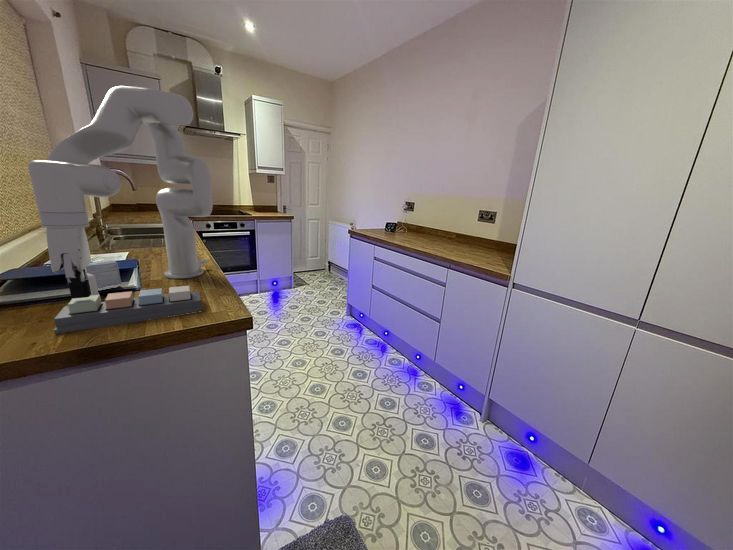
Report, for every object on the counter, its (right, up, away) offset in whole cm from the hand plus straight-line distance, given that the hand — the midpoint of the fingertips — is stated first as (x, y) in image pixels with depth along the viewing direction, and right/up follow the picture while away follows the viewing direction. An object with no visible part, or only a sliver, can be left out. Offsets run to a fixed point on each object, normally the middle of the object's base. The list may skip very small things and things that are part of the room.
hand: (81, 296), depth 69 cm
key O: (+5, -2, +5) cm, 8 cm away
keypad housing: (+8, -5, +8) cm, 12 cm away
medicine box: (-14, +1, +22) cm, 26 cm away
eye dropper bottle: (-11, -3, +12) cm, 16 cm away
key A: (+16, -1, +12) cm, 20 cm away
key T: (+11, -2, +8) cm, 14 cm away
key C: (0, -3, +1) cm, 3 cm away
